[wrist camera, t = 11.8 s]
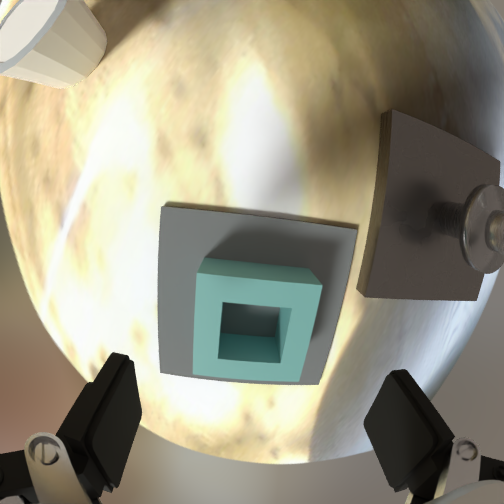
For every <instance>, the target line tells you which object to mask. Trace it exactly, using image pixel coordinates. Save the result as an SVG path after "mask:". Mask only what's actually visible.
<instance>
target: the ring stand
mask: <svg viewBox="0 0 504 504" xmlns="http://www.w3.org/2000/svg"><path fill="white" fill-rule="evenodd" d="M499 181H500V161H499V160H497V159H495V158H494V157H492V156H490V155H489V154H487V153H485V152H484V151H482V150H480V149H478V148H477V147H475V146H473V145H471V144H469V143H468V142H466V141H464V140H462V139H460V138H458V137H456V136H454V135H452V134H450V133H448V132H446V131H444V130H442V129H439V128H437V127H435V126H433V125H431V124H428V123H426V122H424V121H421V120H419V119H417V118H414V117H412V116H409V115H407V114H404V113H401V112H399V111H396V110H393V109H391V110H389V111H387V112H384V113H382V114H381V129H380V143H379V155H378V165H377V174H376V183H375V191H374V198H373V205H372V211H371V218H370V224H369V230H368V235H367V241H366V246H365V251H364V256H363V261H362V266H361V270H360V275H359V279H358V283H357V288H356V289H357V290H358V291H359V292H360V293H361V294H362V295H363V296H364V297H369V298H389V299H413V300H448V301H477V298H478V295H479V291H480V288H481V284H482V281H483V277H484V273H485V274H490V273H493V272H495V271H496V270H498V269H499V268H500V267H501V266H502V264H503V263H504V189H503V188H502V187H500V186H499Z"/></svg>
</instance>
